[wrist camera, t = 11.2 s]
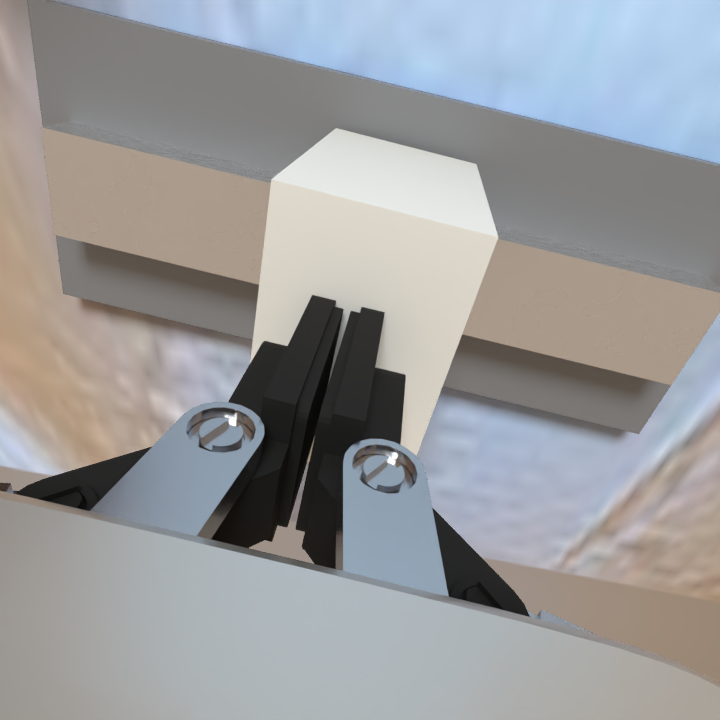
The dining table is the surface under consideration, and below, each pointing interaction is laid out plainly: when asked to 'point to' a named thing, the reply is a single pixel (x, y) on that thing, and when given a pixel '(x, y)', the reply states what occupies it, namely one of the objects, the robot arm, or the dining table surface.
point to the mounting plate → (386, 122)
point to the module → (379, 255)
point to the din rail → (494, 298)
